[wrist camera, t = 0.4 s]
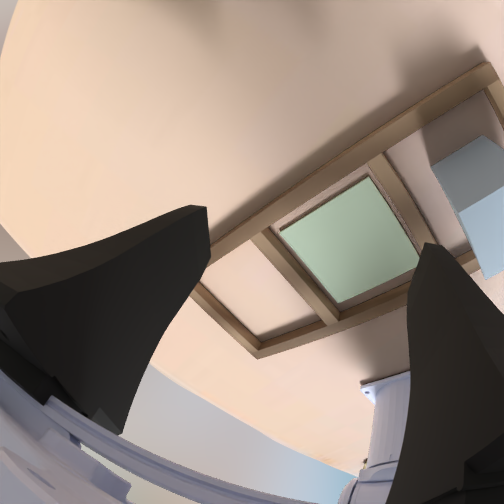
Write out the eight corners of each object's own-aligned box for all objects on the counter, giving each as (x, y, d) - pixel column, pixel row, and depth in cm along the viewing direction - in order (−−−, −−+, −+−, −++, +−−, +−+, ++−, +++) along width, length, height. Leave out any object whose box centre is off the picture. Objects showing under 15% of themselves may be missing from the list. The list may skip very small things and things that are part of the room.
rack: (546, 218, 13) (552, 225, 12) (260, 351, 29) (257, 359, 28) (483, 62, 10) (489, 62, 10) (176, 270, 26) (170, 277, 25)
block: (506, 191, 14) (548, 242, 9) (458, 220, 16) (485, 280, 11) (482, 134, 13) (530, 169, 8) (430, 166, 15) (458, 213, 10)
